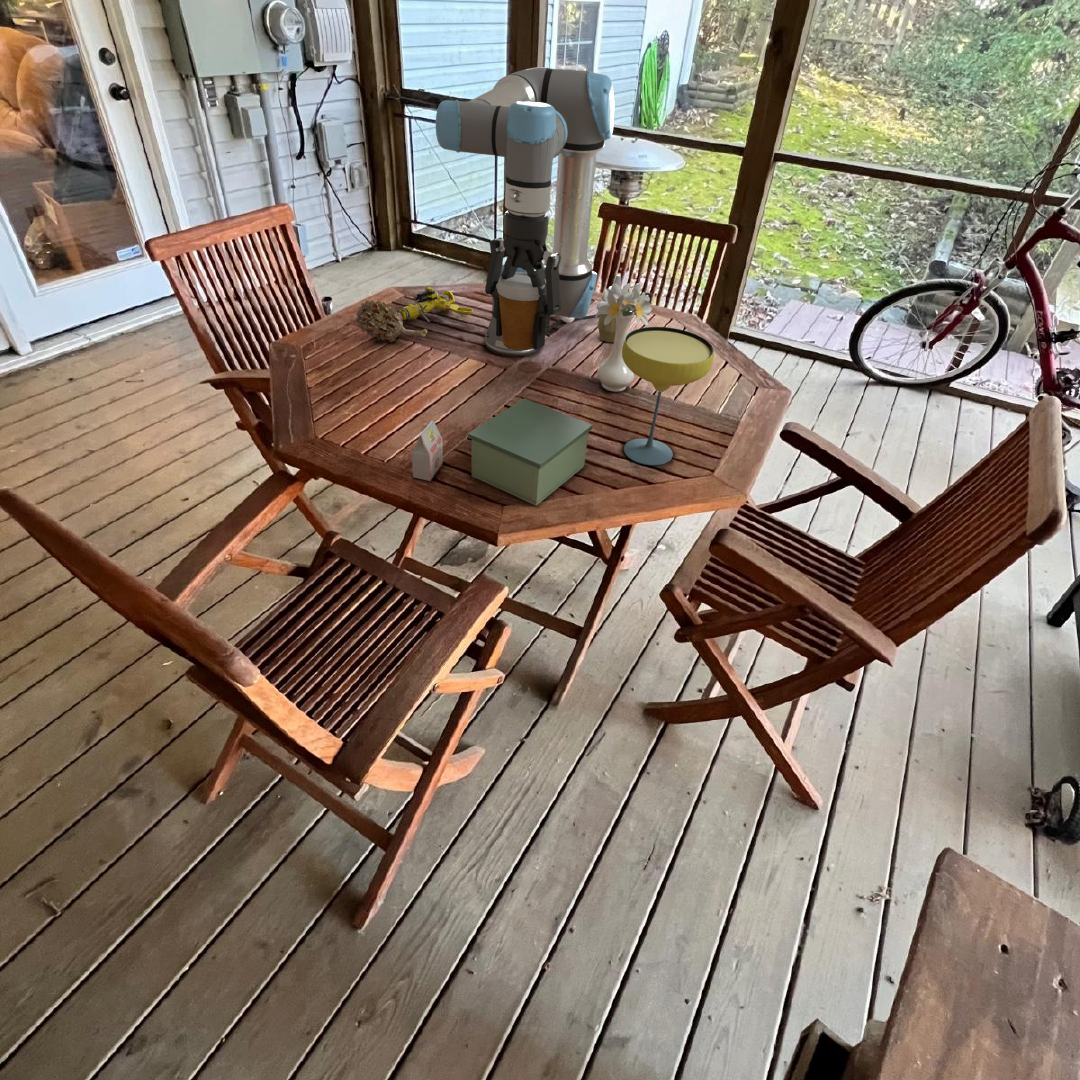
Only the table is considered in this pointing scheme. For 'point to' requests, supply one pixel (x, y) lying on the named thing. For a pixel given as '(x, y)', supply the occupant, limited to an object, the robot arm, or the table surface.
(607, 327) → the squeeze bottle
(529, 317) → the disposable coffee cup
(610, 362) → the flower vase
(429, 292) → the sprinkler
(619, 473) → the table surface
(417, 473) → the white gable carton
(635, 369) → the cocktail glass
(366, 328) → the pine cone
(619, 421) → the table surface
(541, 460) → the green lidded box
